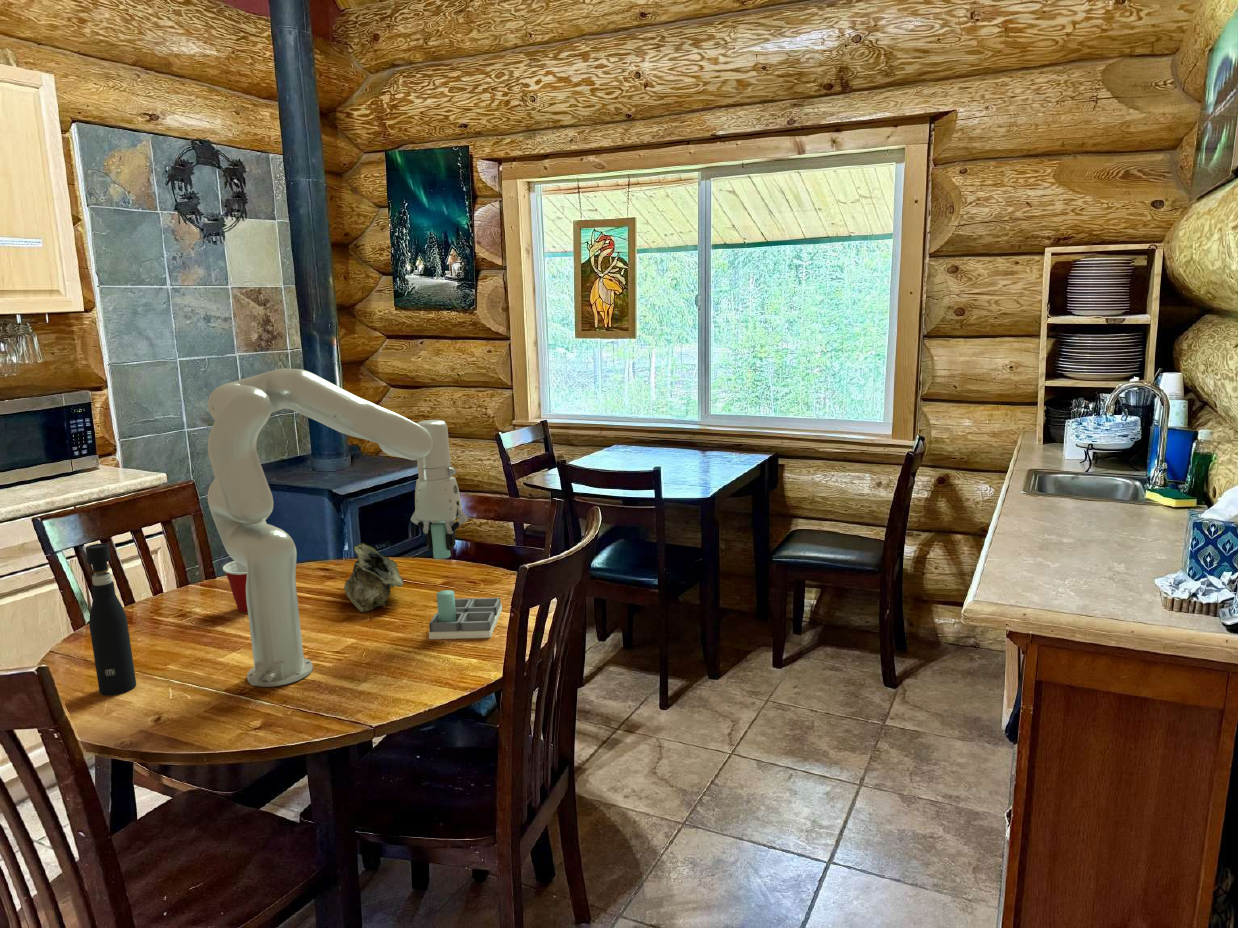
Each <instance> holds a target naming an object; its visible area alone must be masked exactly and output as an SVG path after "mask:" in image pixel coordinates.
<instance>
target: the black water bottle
mask: <svg viewBox="0 0 1238 928" xmlns="http://www.w3.org/2000/svg"><path fill="white" fill-rule="evenodd" d="M85 555H86V560H87V561H86V562H87V564H88V565H91V567H92V573H93V574H92V575H91V576H92V577H91V580H92V581H91V582H92V585H91V592H92V598H93V599H92V602H91V606H90V610H89V620H88V621H89V622H88V623H89V624H88V626H89V633H90V639H91V645H92V653H93V659H94V665H95V671H96V678H97V686H98V690H99V691H98V692H99V694H100V695H102V696H106V697H109V696H117V695H122V694H124V693H128V692H130V691H132V690H133V689H135V687H136V686H137V680H136V673H135V666H134V659H133V650H132V644H131V639H130V630H129V624H128V617H127V615H126V612H125V610H124V607H123V605H122V604H121V602H120V600H119V598H118V596H117V595H116V588H115V584H114V581H113V580H112V579H113V578H112V574H111V572H110V571H109V568H108V562H110V561H111V553H110V545H109V543H106V542H105V543H104V542H102V543H94V544H90V545H87V546H85Z"/></svg>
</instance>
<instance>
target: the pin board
mask: <svg viewBox="0 0 1238 928" xmlns="http://www.w3.org/2000/svg"><path fill="white" fill-rule="evenodd" d="M436 604H437V612H435V613H434V615H433V616H432V618H431V620H430V621H429V623H428V625H429V626H428V628H429V632H428V639H429V640H450V639H452V640H453V639H454V640H455V639H490V638H492V635H493V632H494V631H495V627H496V625H497V623H498V621H499V618H500V616H501V613H502V610H503V604H502V602H501V597H479V598H478V597H477V598H468V597H467V598H456V597H455V591H454V590H447V589H446V590H440V591H438V592H436Z"/></svg>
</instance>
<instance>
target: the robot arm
mask: <svg viewBox="0 0 1238 928" xmlns="http://www.w3.org/2000/svg"><path fill="white" fill-rule="evenodd" d="M207 409H208V411H209V412H208V413H209V414H210V416H211V417H212V419H213V420H214V422H213V424H212V427H211V429H210V432H209V435H208V439H207V452H208V458H209V462H210V465H211V468H212V472H213V475H214V480H213V481H212V482H211V483H210V485H209V488H208V491H207V504H208V508H209V511H210V513H211V517H212V519H213V521H214V525H215V527H216V530H217V532H218V534H219V538H220V539H221V542H222V545H223V547H224V549H225V551H226V553H227V554H228V555H229V557H230V558H231V559H232V560H233V561H236V562H238V563H240V564H242V565H244V566H245V567H246V568H247V580H246V601H247V608H248V613H247V614H248V623H249V624H248V625H249V632H250V640H251V642H250V643H251V649H252V650H251V651H252V659H253V667H251V669H250V670H249V671H247V674H246V676H247V677H246V678H247V682H248V683H249V684H250V686H256V687H261V688H262V687H263V688H265V687H266V688H269V687H270V688H273V687H279V686H285V685H289V684H292V683H295V682H298V681H300V680H302V679H304V678H306V677H307V676H309V675H310V674H311V673H312V671H313V669H314V668H313V662H312V661H311V660H310V659H308V658H306V657H304V649H303V637H302V630H301V629H302V628H301V621H300V620H301V619H300V611H299V610H300V609H299V602H298V600H299V599H298V591H297V579H296V577H297V576H296V571H297V570H296V569H297V556H298V555H297V547H296V544H295V542H294V539H293V538H292V537H291V536H290V535H289V533H287V532H286V531H285V530H283V529H282V528H279V527H276V526H275V525H273V524H269V523H267V521H266V520H267V519H268V518H269V517H270V515H271V514H272V513H273V510H274V497H273V493H272V491H271V488H270V485H269V483H268V480H267V478H266V475H265V472H264V469H263V466H262V464H261V461H260V457H259V454H258V450H257V442H258V437H259V434H260V432H261V431H262V430H263V427H264V426H265V425H266V423H267V422H268V421H269V419H270V417H271V414H273V413H275V412H278V411H281V410H283V409H284V410H285V409H286V410H291V411H294V412H297V413H298V414H301V415H303V416H305V417H307V418H309V419H311V420H313V421H316V422H317V423H320V424H322V425H325V427H327V428H331V429H332V430H334V431H337V432H338V433H341V434H344V435H346V436H350V437H353V438H358V439H361V440H362V439H363V440H365V441H370V442H373V443H375V444H378V447H379V448H380V450H381V451H383V453H385V454H387V455H388V456H390V457H396V458H401V459H407V460H410V461H417V473H418V475H417V476H418V479H416V481H415V482H416V483H415V489H414V491H415V492H414V507H415V510H414V512H413V513H412V515H411V518H410V521H411V522H412V523H413V524H414V525H417V526H418V528H419V529H421V530H422V533H423V534H425V540H426V541H425V542H426V545H427V546H428V548H427V549H428V551H433V545H432V534H431V524H432V523H435V522H445V525H446V529H447V534H446V547H447V550H450V551H452V549H454V548H455V546H456V531H457V530H458V528H459V527H460V526H461V525H463V524H464V523H466V522H467V521H468V517H467V515H466V514H465V512H464V511H463V506H462V500H461V495H460V490H459V485H458V482H457V479H456V477H455V476H453V475H457V470H458V469H457V468H455V467H452V464H451V455H450V444H449V443H450V442H449V430H448V425H447V423H446V421H444V420H441V419H430V420H429V419H426V420H422V421H418V422H414V421H412V420H411V419H408V418H407V417H404V416H402V415H400V414H399V413H396V412H394V411H391V410H389V409H387V408H385V407H382V406H380V405H377V404H375V403H374V402H371V401H369V400H366V399H365V398H363V397H360V396H357V395H356V394H353V393H352V392H349V391H348V390H345V389H343V388H342V387H340V386H338V385H336V384H334V383H332V382H330V381H329V380H326V379H324V378H323V377H321V376H319V375H317V374H315V373H313V372H311V371H309V370H306V369H301V368H289V367H288V368H282V367H281V368H277V369H274V370H270V371H266V372H264V373H263V372H262V373H260V374H256V375H253V376H248V377H246V378H242V379H237V380H234V381H230V382H227V383H224V384H222V385H220V386H218V387H215V389H214V390H213V391H212V392H211V393H210V395H209V397H208V401H207ZM457 518H458V520H457V521H456V522H455V520H456V519H457Z"/></svg>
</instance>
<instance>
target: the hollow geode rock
mask: <svg viewBox="0 0 1238 928" xmlns="http://www.w3.org/2000/svg"><path fill="white" fill-rule="evenodd" d="M353 552H354V553H355V554H356V557H357V560H356V561H354V563H353V564H354V566H353V568H352V572H351V575H350V576H349V578H348V579H347V580H346V581H345V583H344V587H343V590H344V592H345V594H346V596H347V598H349V601H351V603H352V604H353V605H354V606H355V607H356V608H357V610H358V611H359V612H361V613H364V612H369V611H373V610H374V609H375V608H377V607H378V608H379V607H385V606H386V605H387V601H388V598H389V597H390V594H391V588H395V587H397V588H400V587H403V586H404V579H403V578H402V576H401V575H400V571H399V569H398V568H397V567H398V564H397V562H395V561H394V560H393V559H390V558H389V557H388V556H387V557H385V556H384V555H381V554H380V553H379V551H377V549H376V547H373V546H372V545H369V544H368V543H365V542H361V543H360V542H359V543H358V544H357V545H356V544H355V545H354V546H353Z"/></svg>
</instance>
